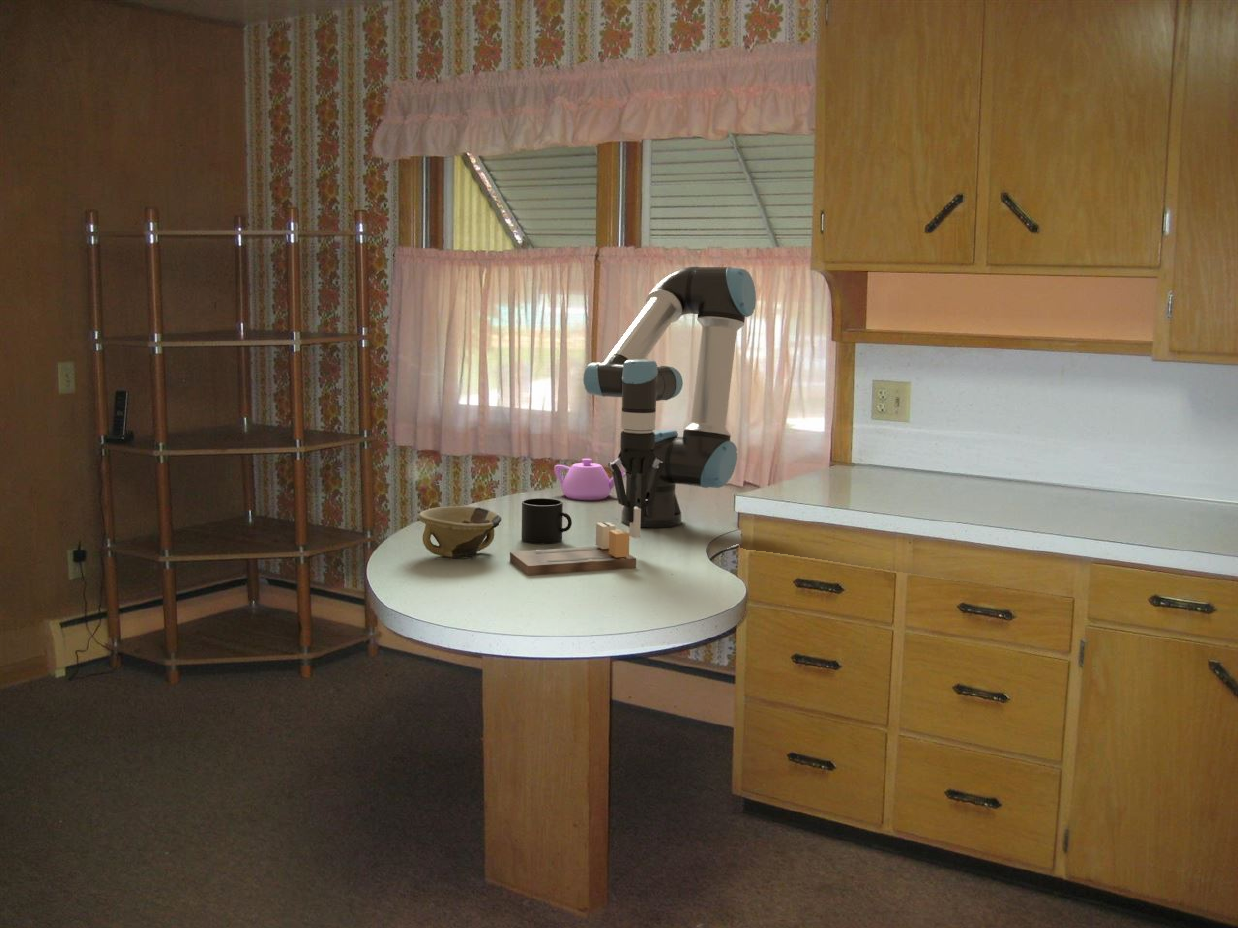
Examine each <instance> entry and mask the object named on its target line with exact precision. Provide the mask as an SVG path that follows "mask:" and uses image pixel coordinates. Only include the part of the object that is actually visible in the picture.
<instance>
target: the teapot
mask: <svg viewBox="0 0 1238 928" xmlns="http://www.w3.org/2000/svg"><path fill="white" fill-rule="evenodd" d="M581 460H582V462H578V463H573V464H572V465H571V466H567V465H564V464H556V465H554V469H553V470H554V474H555V476H556V478H557V481H559V483H560V484H561V491H562V494H563V495H564V496H565V497H566V498H567V499H572V500H577V501H578V500H579V501H598V500H605V499H607V497H608V496H609V495H610V494H611V492H612V489H613V488H615V483H614V478H613V476H612V477H611V478H609V476H608V474H607V472H606V470H605V468H604V467H603V466H602V464H599V463H596V462H595V463H594V462H593V459H592V458H582V459H581ZM592 462H593V463H592ZM561 470H567V472H566V474H565V476H564V478H563V477H562V474H561ZM620 471H621V474H622V478H623V477H624V476H626V472H625V471H623V470H622V468H621V469H620Z"/></svg>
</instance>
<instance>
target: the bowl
mask: <svg viewBox="0 0 1238 928" xmlns="http://www.w3.org/2000/svg"><path fill="white" fill-rule="evenodd" d="M418 517H419V521H420V522H421V523H422V524H424V525H425V527H424V530H423V533H422V543H423V546H424V547H425V549H426V550H428V551H429V552H430V553H432V554H434V555H437V556H441V557H447V558H452V559H453V558H454V559H467V558H471V557H473V556H475V555H476V554H477V552H480V551H482V550H485V549H486V548H488V547H490V545H491V544H492V543H493V541H494V539H495V529H496V528H497V527H498V526H500V523H501V521H502V517H501V515H499V514H498V513H497V512H494V511H493V510H489V509H487V508H481V507H478V506H469V505H459V506H457V505H456V506H454V505H453V506H452V505H451V506H439V507H432V508H429V509H426V510H422V511H420V512H419V513H418ZM432 536H433V537H434V539H435V541H436V542H437V543H438V545H436V544H434V543H433V542H432V541H431V537H432Z"/></svg>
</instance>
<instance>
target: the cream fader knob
mask: <svg viewBox="0 0 1238 928" xmlns="http://www.w3.org/2000/svg"><path fill="white" fill-rule="evenodd" d="M615 529H617V527H616V525H614V524H613V523H611V522H609V521H607V522H604V521H602V522H596V523H595V546H598V547H599V548H601V549H609V530H615Z"/></svg>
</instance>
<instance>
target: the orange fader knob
mask: <svg viewBox="0 0 1238 928" xmlns="http://www.w3.org/2000/svg"><path fill="white" fill-rule="evenodd" d="M609 554H611V555H612V556H614V557H629V555H630V536H629V532H627V531H626V530H624V529H617V528H616V529H615V530H609Z"/></svg>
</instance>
